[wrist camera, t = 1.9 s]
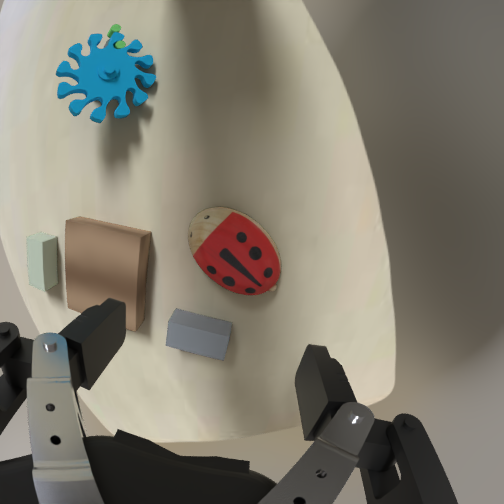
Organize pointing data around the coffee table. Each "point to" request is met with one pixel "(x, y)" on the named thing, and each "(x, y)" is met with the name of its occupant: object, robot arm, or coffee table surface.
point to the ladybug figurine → (234, 251)
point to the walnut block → (106, 266)
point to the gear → (106, 75)
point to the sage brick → (42, 261)
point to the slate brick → (198, 334)
